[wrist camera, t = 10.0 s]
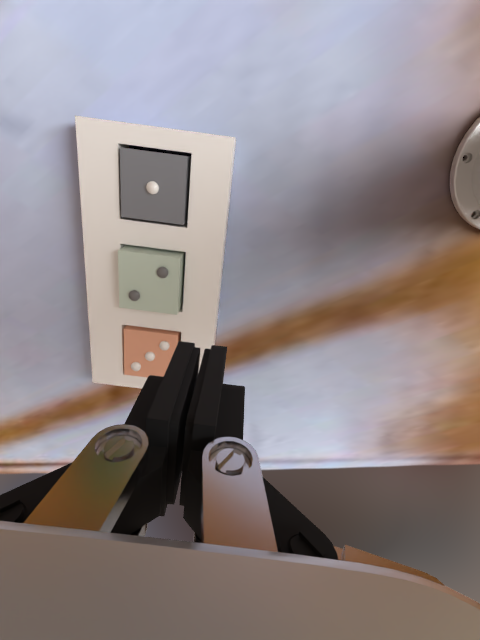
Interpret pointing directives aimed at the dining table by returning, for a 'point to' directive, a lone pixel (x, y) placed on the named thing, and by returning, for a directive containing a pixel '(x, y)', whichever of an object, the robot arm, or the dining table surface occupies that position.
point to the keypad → (150, 237)
